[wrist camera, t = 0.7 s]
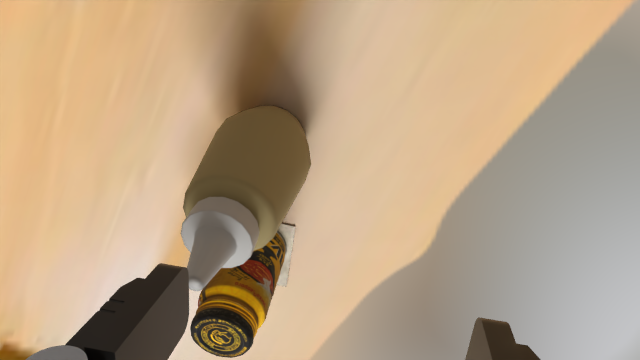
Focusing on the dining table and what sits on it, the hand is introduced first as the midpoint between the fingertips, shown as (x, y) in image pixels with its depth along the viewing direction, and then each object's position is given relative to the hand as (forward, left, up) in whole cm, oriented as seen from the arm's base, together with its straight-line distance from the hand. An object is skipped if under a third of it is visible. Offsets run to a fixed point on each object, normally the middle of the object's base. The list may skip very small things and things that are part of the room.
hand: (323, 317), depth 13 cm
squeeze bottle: (+4, -11, -27) cm, 30 cm away
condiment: (+15, -19, -27) cm, 36 cm away
